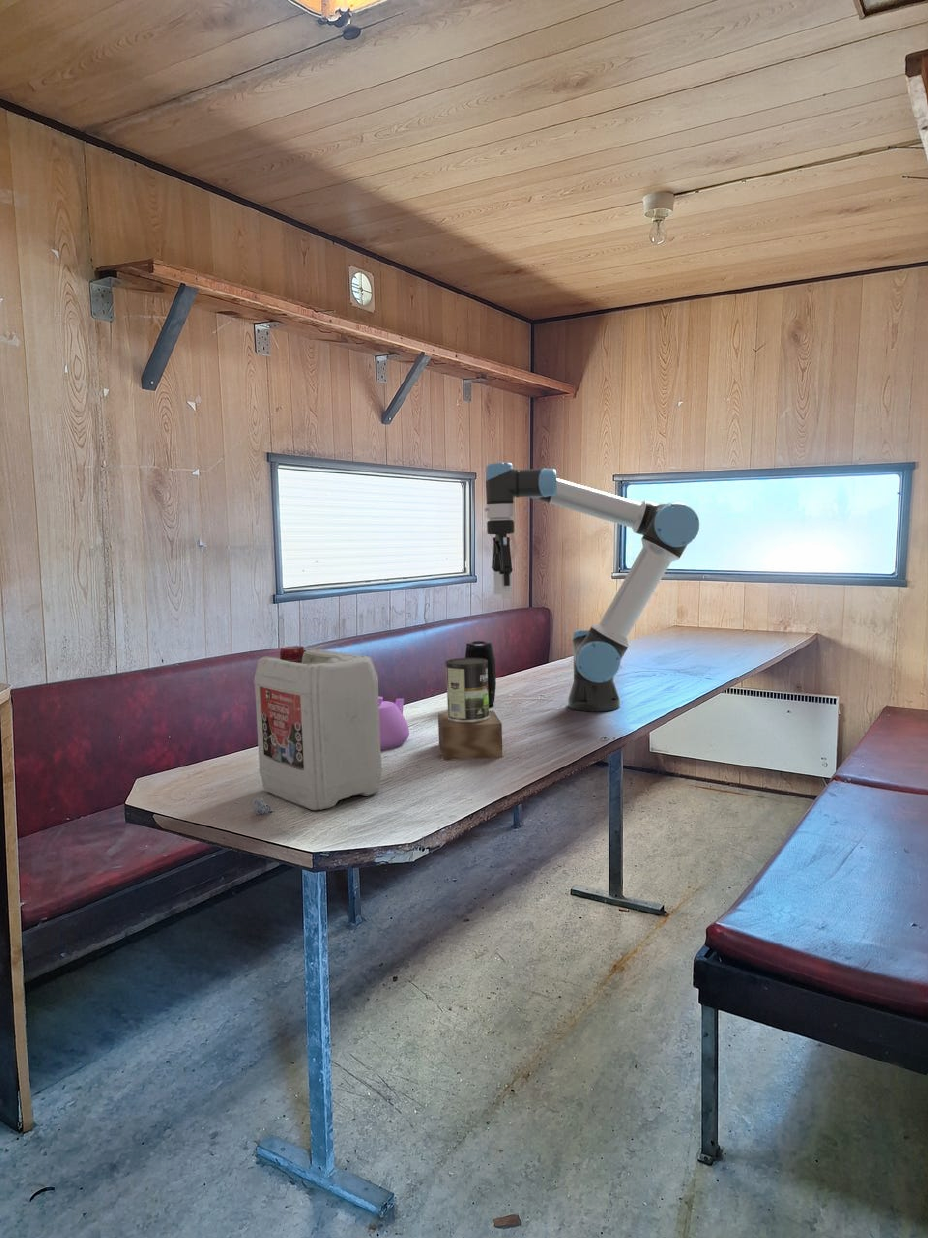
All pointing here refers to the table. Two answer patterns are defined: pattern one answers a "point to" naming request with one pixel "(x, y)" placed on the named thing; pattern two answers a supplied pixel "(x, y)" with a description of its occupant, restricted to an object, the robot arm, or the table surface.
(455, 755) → the walnut block
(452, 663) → the coffee can
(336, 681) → the jerry can
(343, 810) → the table surface
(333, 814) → the table surface
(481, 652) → the portable speaker
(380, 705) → the teapot
